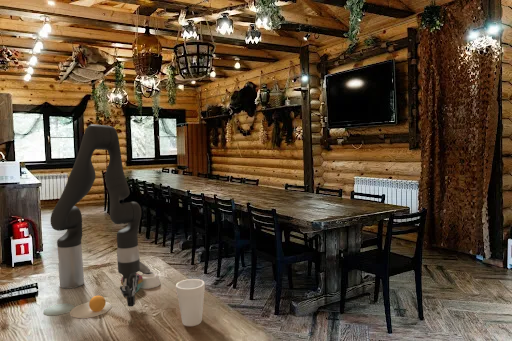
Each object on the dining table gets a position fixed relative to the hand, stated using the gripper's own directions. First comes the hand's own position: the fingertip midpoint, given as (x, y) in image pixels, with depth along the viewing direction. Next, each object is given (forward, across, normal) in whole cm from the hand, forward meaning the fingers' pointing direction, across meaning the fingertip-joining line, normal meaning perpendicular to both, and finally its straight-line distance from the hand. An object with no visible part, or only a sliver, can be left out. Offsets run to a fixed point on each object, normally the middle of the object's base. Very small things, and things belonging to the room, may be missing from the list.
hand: (131, 305), depth 150 cm
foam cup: (+2, -10, -24) cm, 26 cm away
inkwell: (+2, +26, +6) cm, 26 cm away
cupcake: (+2, +18, +6) cm, 19 cm away
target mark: (+2, 0, +15) cm, 15 cm away
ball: (-1, -1, +12) cm, 12 cm away
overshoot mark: (+2, 0, +27) cm, 27 cm away
